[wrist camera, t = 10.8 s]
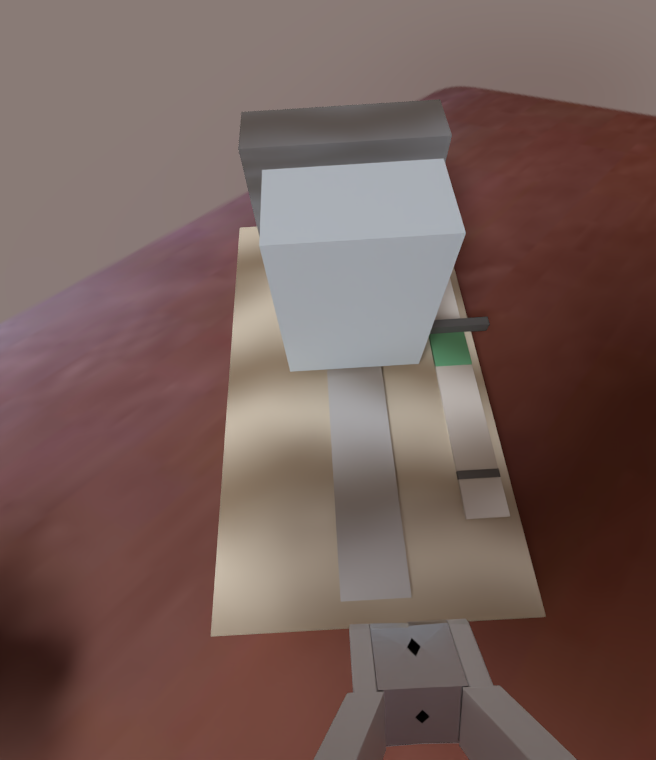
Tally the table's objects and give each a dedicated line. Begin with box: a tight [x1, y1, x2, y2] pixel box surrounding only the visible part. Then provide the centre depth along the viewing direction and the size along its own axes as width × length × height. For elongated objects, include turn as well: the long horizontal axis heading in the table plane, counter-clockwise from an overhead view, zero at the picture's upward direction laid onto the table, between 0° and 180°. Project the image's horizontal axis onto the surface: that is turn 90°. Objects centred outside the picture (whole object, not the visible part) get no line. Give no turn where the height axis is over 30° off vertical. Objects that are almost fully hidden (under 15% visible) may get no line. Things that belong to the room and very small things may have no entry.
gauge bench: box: [211, 100, 546, 636], centre depth 19 cm, size 24×14×10 cm, turn 3°
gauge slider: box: [259, 158, 490, 372], centre depth 18 cm, size 6×11×9 cm, turn 93°
